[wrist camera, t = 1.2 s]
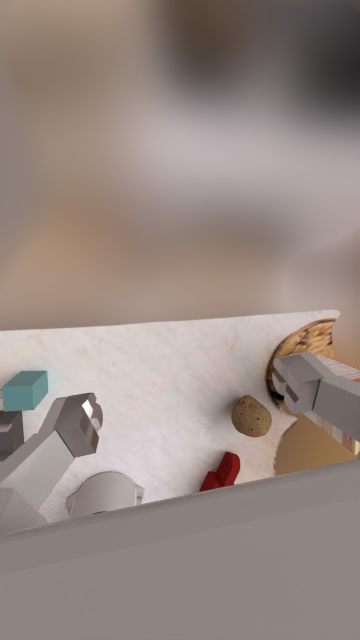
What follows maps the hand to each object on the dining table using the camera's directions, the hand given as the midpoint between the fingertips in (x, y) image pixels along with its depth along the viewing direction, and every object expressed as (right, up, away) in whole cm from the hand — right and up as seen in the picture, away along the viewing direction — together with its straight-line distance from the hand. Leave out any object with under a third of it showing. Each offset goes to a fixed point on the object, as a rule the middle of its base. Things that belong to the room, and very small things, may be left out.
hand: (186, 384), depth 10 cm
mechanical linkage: (+11, -41, +52) cm, 67 cm away
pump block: (-32, -11, +38) cm, 51 cm away
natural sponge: (+16, -21, +49) cm, 56 cm away
